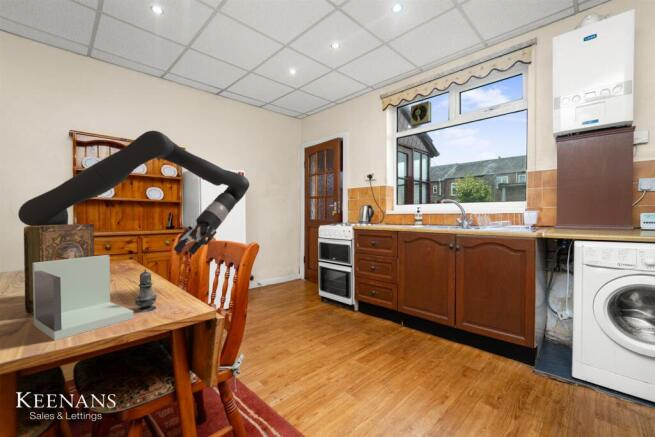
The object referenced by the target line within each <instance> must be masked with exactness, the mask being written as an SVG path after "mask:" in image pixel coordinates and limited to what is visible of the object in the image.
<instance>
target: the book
mask: <svg viewBox="0 0 655 437" xmlns="http://www.w3.org/2000/svg"><path fill="white" fill-rule="evenodd" d="M94 227H95V224H94V223H71V224H69V223H68V224H67V225H43V226H29V225H25V226H24V228H23V258H24V259H23V266H24V269H23V270H24V272H23V273H24V275H23V276H24V308H25V313H27V314H34V303H33V263H36V262H46V261H55V260H65V259H74V258H84V257H93V256H95V228H94Z"/></svg>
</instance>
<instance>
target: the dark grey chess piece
mask: <svg viewBox="0 0 655 437" xmlns="http://www.w3.org/2000/svg"><path fill="white" fill-rule="evenodd" d="M152 285H153V282H152V273H150V272H149V271H147V269H146V268H144V271H143V272H142V273H140V274H139V284H138V287H139V294H138V295H137V296H136V297H134V299H133V300H134V302H135V305H136V306H138V308H136V309H135V313H148V312H151V311H155V310H156V309H157V306H155V305H154V304H155V303H156V301H157V297H158V295H157V294H154V293H153V288H152ZM154 309H155V310H154Z"/></svg>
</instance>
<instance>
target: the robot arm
mask: <svg viewBox="0 0 655 437" xmlns="http://www.w3.org/2000/svg"><path fill="white" fill-rule="evenodd" d="M155 159H160V160H163V161H166V162H169V163H172V164H175V165H176V166H180V167H182V168H184V169H186V170H187V171H189V172H190V173H192V174H193V175H195V176H196V177H199V178H200V179H202V180H203V181H206V182H208V183H209V184H212V185H214V186H221V185H223V186H224V185H225V186H227V187H226V188H225V190H224V191H223V192H221V193H219V194H218V195H217V197H215V199H214V200H212V202H211V203H210V204H208V206H206V207H205V209H204V210H203V211H202V212H201V213H200V214H199V216H197V218H196V219H195V222H196V224H195V226H193V227H192V226H191V225H188V227H186V229H185V230H184V231H183V232H182V233H181V234H180V235H179V236H178V240H179V242H178V243H177V244H176V245H175V246H174V247H173V250H174V251H175V252H176V253H181V251H182V250H183V249H184V248H185V247H186V245H187V244H189V243H191V242H193V244H191V246H189V248H188V250H187V252H188V253H189V254H190V255H193V256H194V255H195V254H196V253H197V251H198V250H199V249H200V248H201V247H203V246H204V245H205V246H207V245H209V243H210V242H211V241H212V239H213V238H214V237H215V235H216V234H217V229H218V228H219V227H220V226H221V225H222V223H224V221H225V219H226V218H227V216H228V215H229V214H230V212H232V210H233V208H234V207H236V204H238V203H239V202H240V201H241V200H242V198H244V196H245V194H246V193H247V191H248V190H249V188H250V181H249V179H248V178H247V177H246V176H245V175H243V174H241V173H238V172H235V171H231V170H228V169H224V168H223V167H220V166H218V165H216V164H214V163H212V162H210V161H208V160H206V159H204V158H201V157H200V156H198V155H195V154H192V153H191V152H189V151H187V150H185V149H184V148H182V147H181V146H180V145H178V144H176V143H175V142H174V141H172V140H171V139H170V138H169V137H168V136H167V135H166V134H164V133H163V132H160V131H158V130H148V131H145V132H144V133H141V135H139V136H138V137H137V138H136V139H134V140H133V141H132V142H130V143H129V144H127V145H126V146H125V147H123V148H121V149H120V150H118V151H116V152H114V153H112V154H110V155H108V156H106V157H105V158H103V159H101V160H99V161H97V162H96V163H94V164H92V165H90V166H89V167H87V168H85V169H84V170H82V171H80V172H79V173H78V174H76V175H74V176H72V177H70V178H69V179H68V180H67V179H66V181H64V182H63V183H61V184H59V185H58V186H56V187H54V188H52V189H50V190H48V191H45V192H44V193H41V194H39V195H38V196H37V195H36V196H35V197H33V198H31V199H28V200H27V201H25V202H24V203H23V204H22V205H21V206H20V208H19V209H18V213H17V214H18V215H17V216H18V219H19V221H20V222H21V223H22V224H24V225H25V226H43V225H67V224H69V212H68V209H69V208H71V207H72V206H74V205H77V204H79V203H82V202H84V201H87V200H90V199H93V198H96V197H98V196H100V195H101V196H102V195H103V194H105V193H108V191H111V190H112V189H114V188H115V187H117V186H119V185H120V184H121V183H123V182H124V181H125V180H126V179H127V178H128V177H129V176H130V175H131V174H132V173H133V171H135V170H136V169H137V168H138V167H140V166H143V164H146V163H148V162H149V161H151V160H155Z"/></svg>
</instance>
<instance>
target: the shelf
mask: <svg viewBox="0 0 655 437" xmlns="http://www.w3.org/2000/svg"><path fill="white" fill-rule="evenodd" d="M110 263H111V262H110V254H105V255H104V254H103V255H94V256H93V257H84V258H74V259H65V260H55V261H46V262H36V263H33V303H34V313H33V326H34V327H35V328H36V329H39V330H40V331H41V332H42V333H44V334H45V335H47V336H48V337H49V338H50V339H52V340H53V341H58V340H62V339H65V338H69V337H72V336H75V335H79V334H82V333H86V332H89V331H93V330H98V329H100V328H104V327H107V326H112V325H115V324H119V323H122V322H125V321H128V320H129V321H130V320H133V319H135V318H134V310H132V309H130V308H126V307H124V306H121V305H119V304H116V303H114V302H111V273H110V272H111V270H110V269H111V268H110V267H111V266H110Z"/></svg>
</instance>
